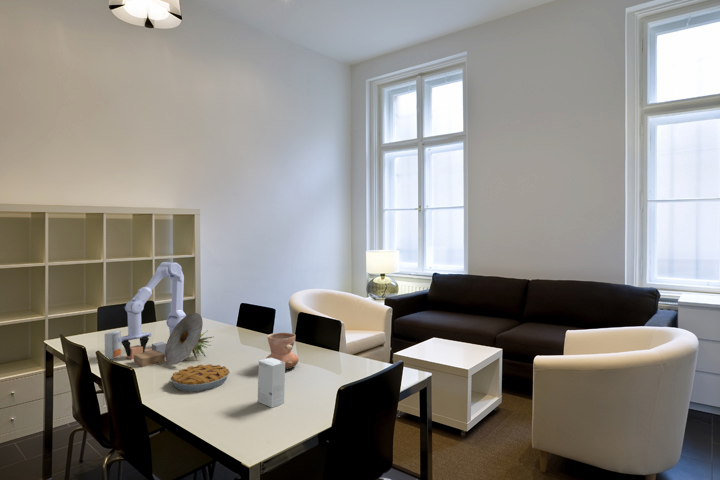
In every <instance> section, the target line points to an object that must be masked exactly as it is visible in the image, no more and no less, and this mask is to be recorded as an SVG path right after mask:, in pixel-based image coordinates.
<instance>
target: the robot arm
mask: <svg viewBox="0 0 720 480" xmlns="http://www.w3.org/2000/svg"><path fill="white" fill-rule="evenodd" d="M182 267H183V266H181V265H180V264H179V263H178V262H168V261H163V262H161V263H160V264H159V265H158V266H157V267H156V271H155V272H154V274H153V275H152V277H150V280H149V281H147V284H146V285H145V286H143V287H142V286H141V288H138V289H137V293H135V295H134V296H133V297H132V298H131V300H129V301H128V302H127V303H126V304H125V306H124V310H125V312H126V313H127V314H126V315H127V333H128V334H126V335H124V336H121V337H119V338H118V342H121V346H122V347H123V348H124V351H125V354H126V356H127V357H128V356H130V347H131V342H130V341H132V340H137V339H139V343H140V344H139V345H140V346H142V347H143V353H144V350H145V349H146V348H147V347H146V346H147V344H148V342H149V339H150V338H151V337H152V332H151V331H148V332H143V331H142V312H143V310H144V309H145V308H144V307H145V304H146V303H147V301H149V299H150V297H151V296H152V294H153V292H152V291H153V290H154V289H155V287H156V286H157V285H158V284H159V283H160V282H161V281H162V279H165V278H169V279H170V280H172V281H171V282H172V283H171V284H172V285H171V306H170V307H171V311H170V312H168V313H167V315H168V317H167V318H166V321H165V322H166V325H167V327H168V330H169V336H170V335H171V333H172V331H173V330H174V328H175V327H176V325H177V324H178V323H179V322H180V321H181V320H182V319H183V318H184V317H185V316H187V314H186V313H185V312H184V291H185V290H184V285H185V275H184V273H183V269H182Z"/></svg>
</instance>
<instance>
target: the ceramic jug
mask: <svg viewBox="0 0 720 480" xmlns="http://www.w3.org/2000/svg"><path fill="white" fill-rule="evenodd" d="M267 341H268V345H269V349H270V352H271V353H270V354H269V355H267V357H266V358H265V359H267V358H274V359H277V360H280V361H282V362H285V371H286V370H289V369H292V368H294V367H296V365H298V363H299V360H300V359H299V357H298V355H296V353H294V352H293V351H292V350H293V347H294V344H295V342H296V334H295V333H291V332H275V333H270V334H268V335H267Z"/></svg>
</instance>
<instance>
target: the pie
mask: <svg viewBox="0 0 720 480" xmlns="http://www.w3.org/2000/svg"><path fill="white" fill-rule="evenodd" d="M230 374H231V372H230V370H229V368H227V367H226V366H224V365H223V366H221V365H220V364H217V365H213V364H205V365H204V364H198V365H196V366H193V365H191V366H188V367H187V368H182V369H179V370H178V371H175V372H173V374H172V375H171V377H170V381H171V383H173V385H174V387H175V388H176V389H178V390H180V391H184V392H185V391H186V392H202V391H208V390H211V389H214V388H217V387H220V386H221V385H223V384H225V382H226V381H227V379H228V376H229V375H230Z"/></svg>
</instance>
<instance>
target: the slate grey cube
mask: <svg viewBox="0 0 720 480" xmlns="http://www.w3.org/2000/svg"><path fill="white" fill-rule="evenodd" d="M166 344H167V342H166V343H165V342H163V341H159V342H155V343H151V347H152V351H153V350H157V351H159V352H161V353H164V354H165V348H166Z"/></svg>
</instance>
